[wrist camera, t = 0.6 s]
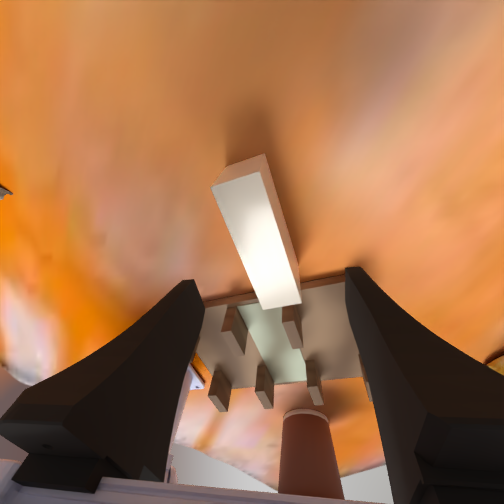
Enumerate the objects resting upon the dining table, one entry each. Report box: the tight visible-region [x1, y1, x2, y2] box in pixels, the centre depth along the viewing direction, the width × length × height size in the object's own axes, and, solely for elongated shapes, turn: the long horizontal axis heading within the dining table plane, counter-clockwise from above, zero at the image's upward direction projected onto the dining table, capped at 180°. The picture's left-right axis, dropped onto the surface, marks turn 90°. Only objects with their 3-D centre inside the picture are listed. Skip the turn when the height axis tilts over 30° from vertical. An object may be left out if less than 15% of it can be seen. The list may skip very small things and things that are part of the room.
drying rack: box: [189, 274, 373, 412], centre depth 26 cm, size 19×14×4 cm
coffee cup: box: [278, 409, 345, 500], centre depth 32 cm, size 9×9×12 cm
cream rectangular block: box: [210, 153, 302, 310], centre depth 19 cm, size 3×10×5 cm, turn 19°
